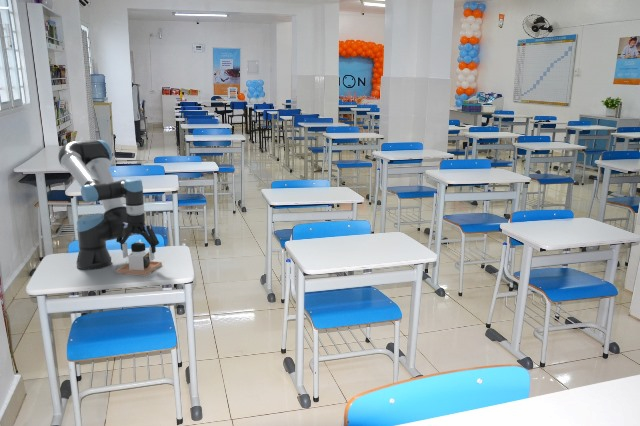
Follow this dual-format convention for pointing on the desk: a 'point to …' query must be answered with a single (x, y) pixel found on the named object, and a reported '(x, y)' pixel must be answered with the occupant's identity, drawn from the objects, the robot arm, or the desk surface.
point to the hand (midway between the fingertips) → (138, 258)
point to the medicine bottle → (139, 257)
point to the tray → (151, 268)
